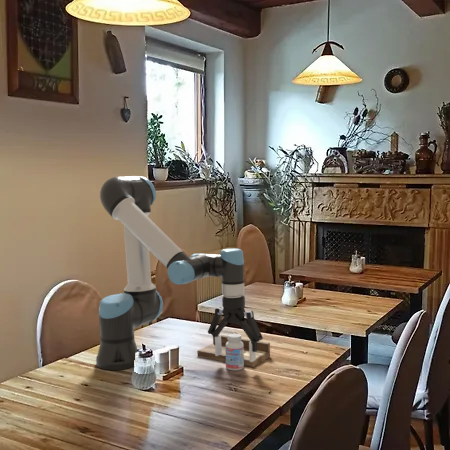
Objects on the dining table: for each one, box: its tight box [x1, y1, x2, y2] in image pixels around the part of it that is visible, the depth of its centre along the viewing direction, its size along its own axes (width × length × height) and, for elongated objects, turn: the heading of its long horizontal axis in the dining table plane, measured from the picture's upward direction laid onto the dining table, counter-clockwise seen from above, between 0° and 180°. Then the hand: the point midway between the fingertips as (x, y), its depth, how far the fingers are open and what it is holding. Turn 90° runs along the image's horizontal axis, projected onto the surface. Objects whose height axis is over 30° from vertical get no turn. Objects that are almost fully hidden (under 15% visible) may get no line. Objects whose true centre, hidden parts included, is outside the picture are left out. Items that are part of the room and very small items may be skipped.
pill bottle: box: [225, 333, 245, 372], centre depth 197 cm, size 6×6×11 cm
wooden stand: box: [196, 334, 271, 367], centre depth 210 cm, size 12×23×5 cm, turn 56°
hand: (235, 357), depth 197 cm, fingers open, 13 cm apart
